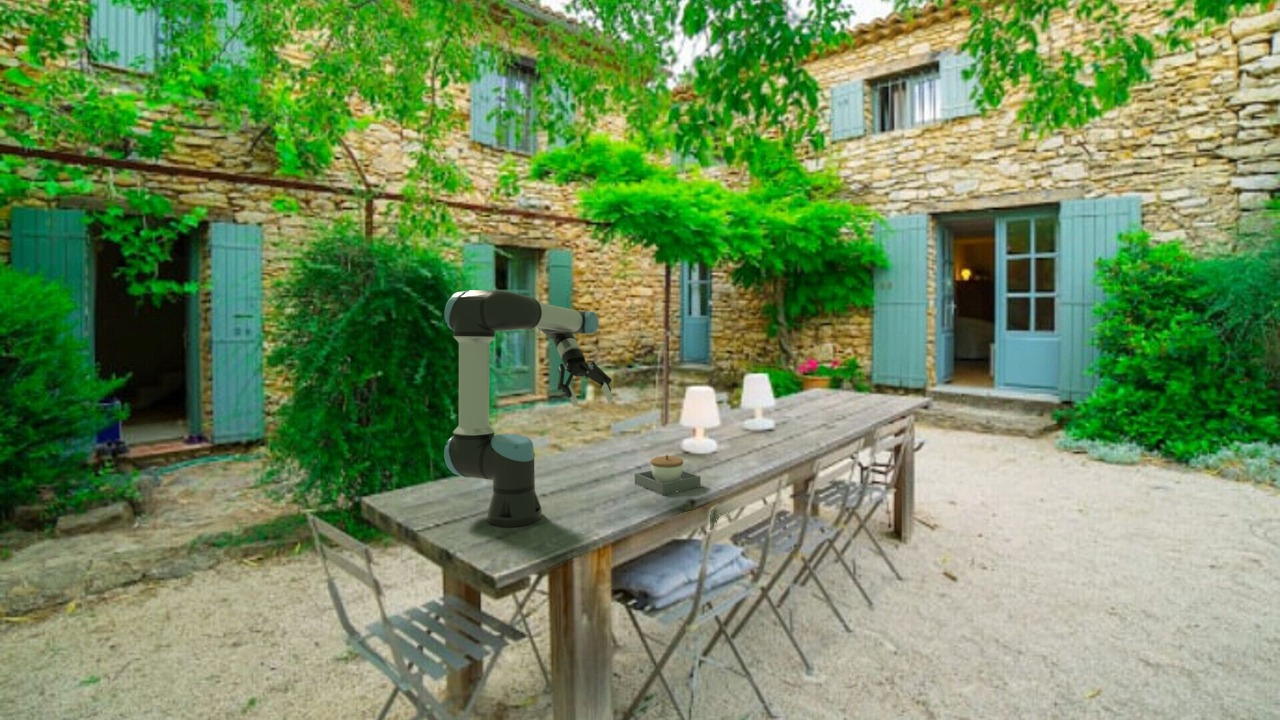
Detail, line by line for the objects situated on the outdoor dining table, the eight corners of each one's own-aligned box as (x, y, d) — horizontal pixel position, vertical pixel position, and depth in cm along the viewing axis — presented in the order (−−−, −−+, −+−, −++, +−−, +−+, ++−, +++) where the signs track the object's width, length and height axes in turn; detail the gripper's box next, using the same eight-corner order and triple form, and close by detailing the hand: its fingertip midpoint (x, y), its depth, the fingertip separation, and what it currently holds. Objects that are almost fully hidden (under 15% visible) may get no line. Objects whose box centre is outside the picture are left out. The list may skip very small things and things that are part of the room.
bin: (662, 495, 197) (662, 484, 197) (634, 483, 210) (634, 473, 209) (700, 486, 206) (700, 476, 206) (671, 476, 219) (671, 466, 218)
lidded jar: (683, 478, 213) (683, 451, 212) (682, 488, 202) (682, 459, 201) (652, 478, 214) (652, 451, 213) (649, 487, 203) (649, 459, 202)
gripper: (597, 359, 229) (620, 405, 218) (535, 363, 215) (556, 412, 204) (605, 345, 224) (629, 391, 213) (542, 349, 210) (564, 398, 199)
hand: (593, 402), depth 208 cm, fingers open, 13 cm apart
